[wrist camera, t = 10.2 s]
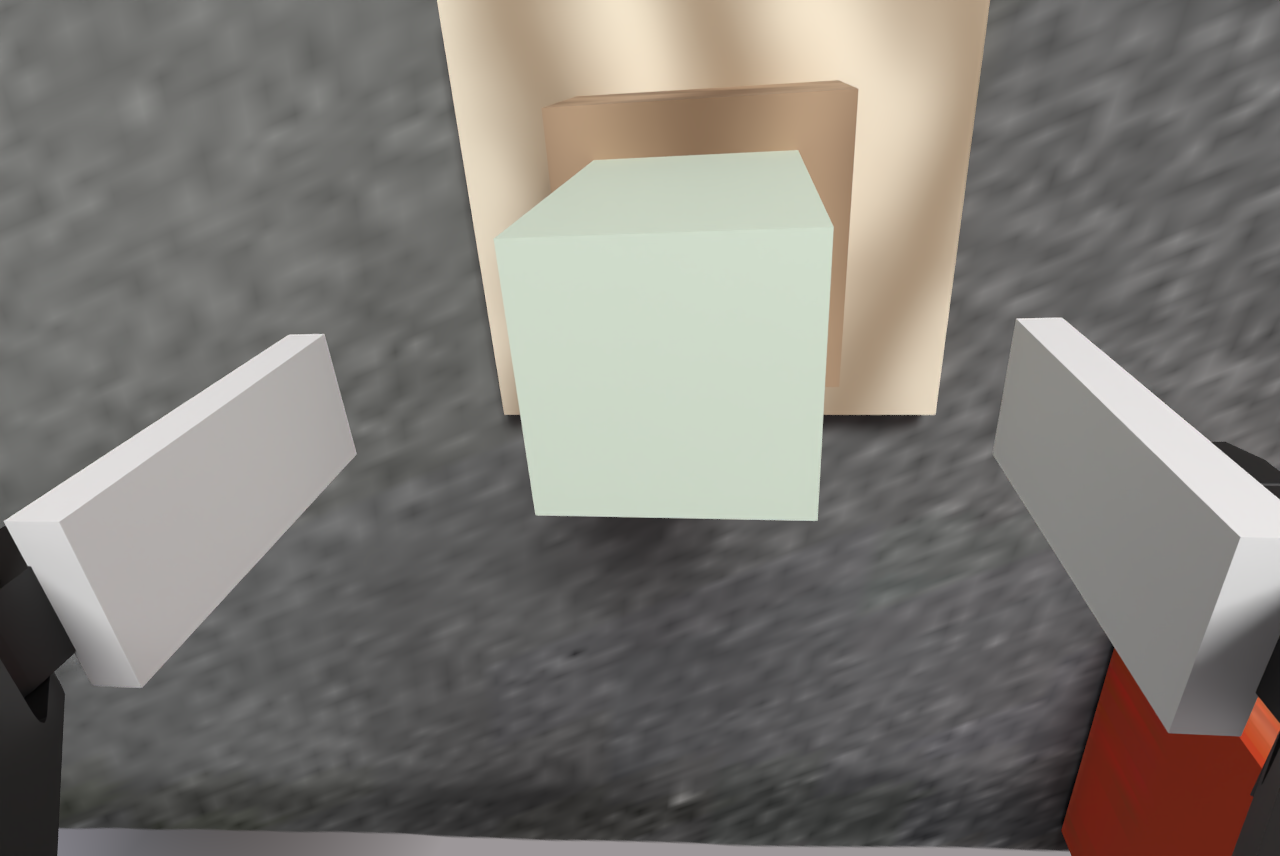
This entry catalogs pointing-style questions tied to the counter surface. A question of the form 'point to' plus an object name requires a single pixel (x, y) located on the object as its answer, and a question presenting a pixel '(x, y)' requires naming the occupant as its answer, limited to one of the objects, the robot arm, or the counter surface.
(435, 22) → the counter surface
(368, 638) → the counter surface
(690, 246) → the sage pillar
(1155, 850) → the file binder
